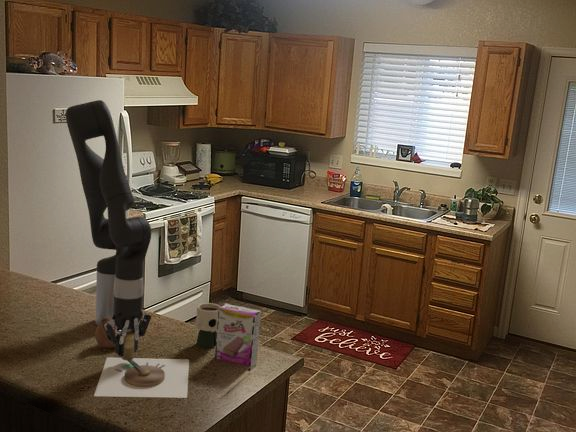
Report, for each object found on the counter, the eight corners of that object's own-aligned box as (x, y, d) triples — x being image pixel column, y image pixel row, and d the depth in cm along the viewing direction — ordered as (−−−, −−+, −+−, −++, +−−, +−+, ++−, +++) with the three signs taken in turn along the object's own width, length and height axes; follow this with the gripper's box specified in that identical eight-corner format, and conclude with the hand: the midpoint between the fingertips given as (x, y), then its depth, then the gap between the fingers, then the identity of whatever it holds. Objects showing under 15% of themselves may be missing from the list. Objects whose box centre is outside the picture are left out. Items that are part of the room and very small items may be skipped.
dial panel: (106, 362, 174) (107, 356, 174) (188, 364, 177) (189, 358, 177) (93, 401, 153) (93, 395, 153) (186, 403, 156) (187, 396, 156)
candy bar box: (213, 363, 180) (217, 307, 176) (221, 356, 184) (225, 302, 181) (250, 371, 176) (255, 315, 173) (257, 365, 181) (261, 309, 178)
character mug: (203, 358, 182) (206, 314, 180) (185, 350, 186) (187, 308, 184) (227, 347, 191) (230, 305, 189) (209, 340, 195) (212, 299, 193)
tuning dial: (171, 380, 163) (173, 350, 162) (135, 389, 157) (136, 357, 155) (141, 356, 176) (143, 327, 174) (107, 364, 169) (108, 334, 168)
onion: (98, 357, 184) (84, 325, 183) (125, 341, 190) (112, 310, 189) (112, 357, 177) (97, 324, 176) (140, 340, 183) (126, 309, 182)
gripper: (143, 284, 175) (141, 342, 179) (96, 293, 165) (95, 355, 169) (159, 292, 170) (156, 352, 174) (112, 302, 160) (110, 365, 164)
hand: (126, 353), depth 171 cm, fingers closed on tuning dial, 3 cm apart
